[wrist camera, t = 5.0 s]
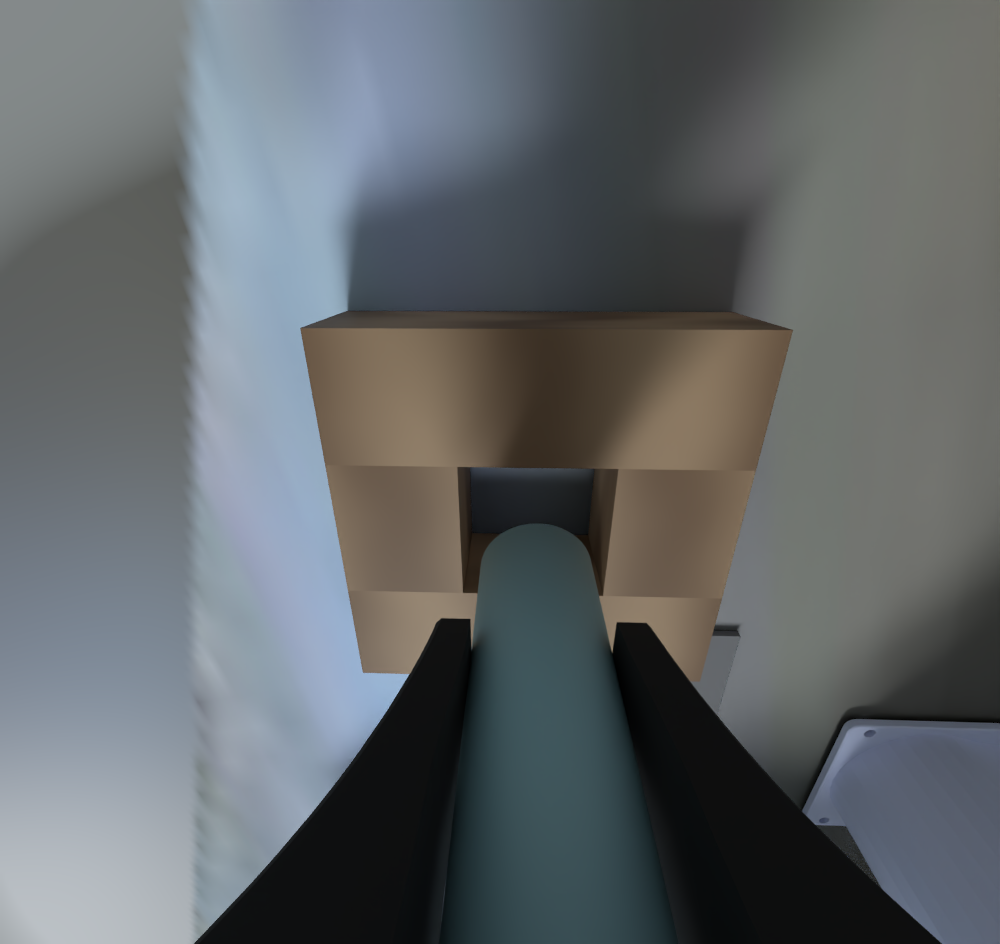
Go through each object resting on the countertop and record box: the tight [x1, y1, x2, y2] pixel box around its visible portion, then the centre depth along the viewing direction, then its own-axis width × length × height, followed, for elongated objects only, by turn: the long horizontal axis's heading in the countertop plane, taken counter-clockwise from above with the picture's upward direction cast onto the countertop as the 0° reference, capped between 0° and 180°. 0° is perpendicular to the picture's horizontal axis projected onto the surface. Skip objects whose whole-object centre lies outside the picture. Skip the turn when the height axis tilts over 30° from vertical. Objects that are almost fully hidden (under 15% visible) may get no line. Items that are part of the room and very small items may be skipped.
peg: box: [439, 524, 679, 944], centre depth 9 cm, size 3×3×9 cm
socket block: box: [300, 311, 793, 682], centre depth 16 cm, size 12×12×4 cm
